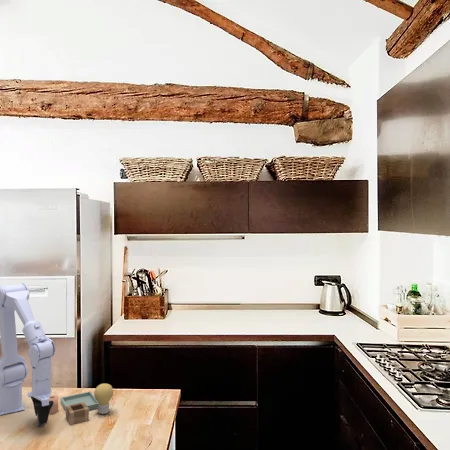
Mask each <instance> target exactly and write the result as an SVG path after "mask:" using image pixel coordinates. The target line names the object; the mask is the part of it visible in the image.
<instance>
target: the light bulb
mask: <svg viewBox="0 0 450 450" xmlns="http://www.w3.org/2000/svg"><path fill="white" fill-rule="evenodd" d="M93 395H94V396H95V399H96V400H97V402H98V403H99V404H98V409H97V412H98V414H100V415H105V414H108V413H109V412H110V401H111V399H112V398H113V396H114V388H113V386H112V385H111V384H109V383H100V384H98V385H97V386H96V388H95V390H94V394H93Z"/></svg>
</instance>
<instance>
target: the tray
mask: <svg viewBox="0 0 450 450" xmlns="http://www.w3.org/2000/svg"><path fill="white" fill-rule="evenodd" d="M59 400H60V404H61V406H62V408H63V409H64V411H65V412H66V406H68V405H73V404H77V403H81V402H84V403H85V404H86V405H87V407H88V408H89V412H90V411H93V410H98V404H99V403H98V402H97V400H96V399H95V396H94V394H93V392H92V391H90V390H89V391H85V392H82V393H81V392H80V393H76V394H71V395H67V396H63V397H60V399H59Z"/></svg>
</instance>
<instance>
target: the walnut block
mask: <svg viewBox="0 0 450 450" xmlns="http://www.w3.org/2000/svg"><path fill="white" fill-rule="evenodd" d="M89 412H90V411H89V408H88V407H87V405H86V404H85V403H84V402H81V403H77V404H73V405H68V406H66V411H65V419H66V420H67V422H68V424H69V426H72V425H76V424H80V423H84V422H88V421H89V419H90V418H89V417H90V416H89V414H90V413H89Z"/></svg>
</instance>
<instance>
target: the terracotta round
mask: <svg viewBox="0 0 450 450" xmlns="http://www.w3.org/2000/svg"><path fill="white" fill-rule="evenodd" d="M49 401H53V402H54V403H53V406H52V407H51V410H50V412H49V415H55V414H57V413H58V412H59V396H58V395H56V394H54V395H53V394H52V395H50V397H49Z"/></svg>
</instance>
